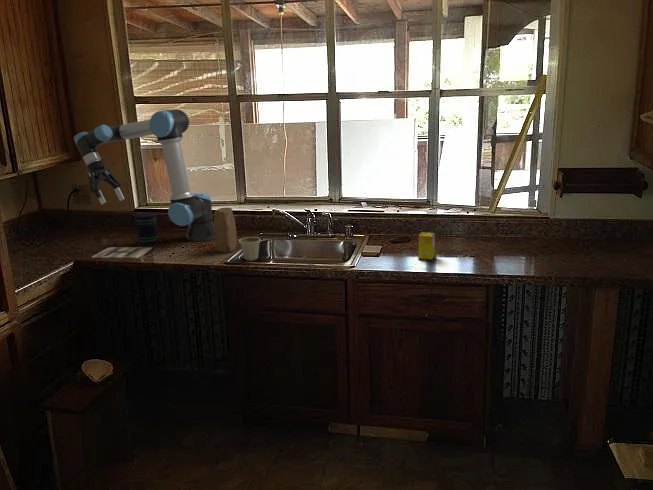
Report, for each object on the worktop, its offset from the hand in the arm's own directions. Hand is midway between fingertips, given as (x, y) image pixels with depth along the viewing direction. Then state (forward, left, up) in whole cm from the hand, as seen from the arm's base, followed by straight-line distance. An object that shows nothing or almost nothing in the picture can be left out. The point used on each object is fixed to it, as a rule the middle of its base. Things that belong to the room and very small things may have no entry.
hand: (113, 201), depth 286 cm
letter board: (-12, +19, -21) cm, 31 cm away
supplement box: (-153, +24, -21) cm, 156 cm away
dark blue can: (-17, +2, -21) cm, 27 cm away
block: (-61, +13, -21) cm, 66 cm away
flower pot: (-76, +26, -21) cm, 83 cm away
